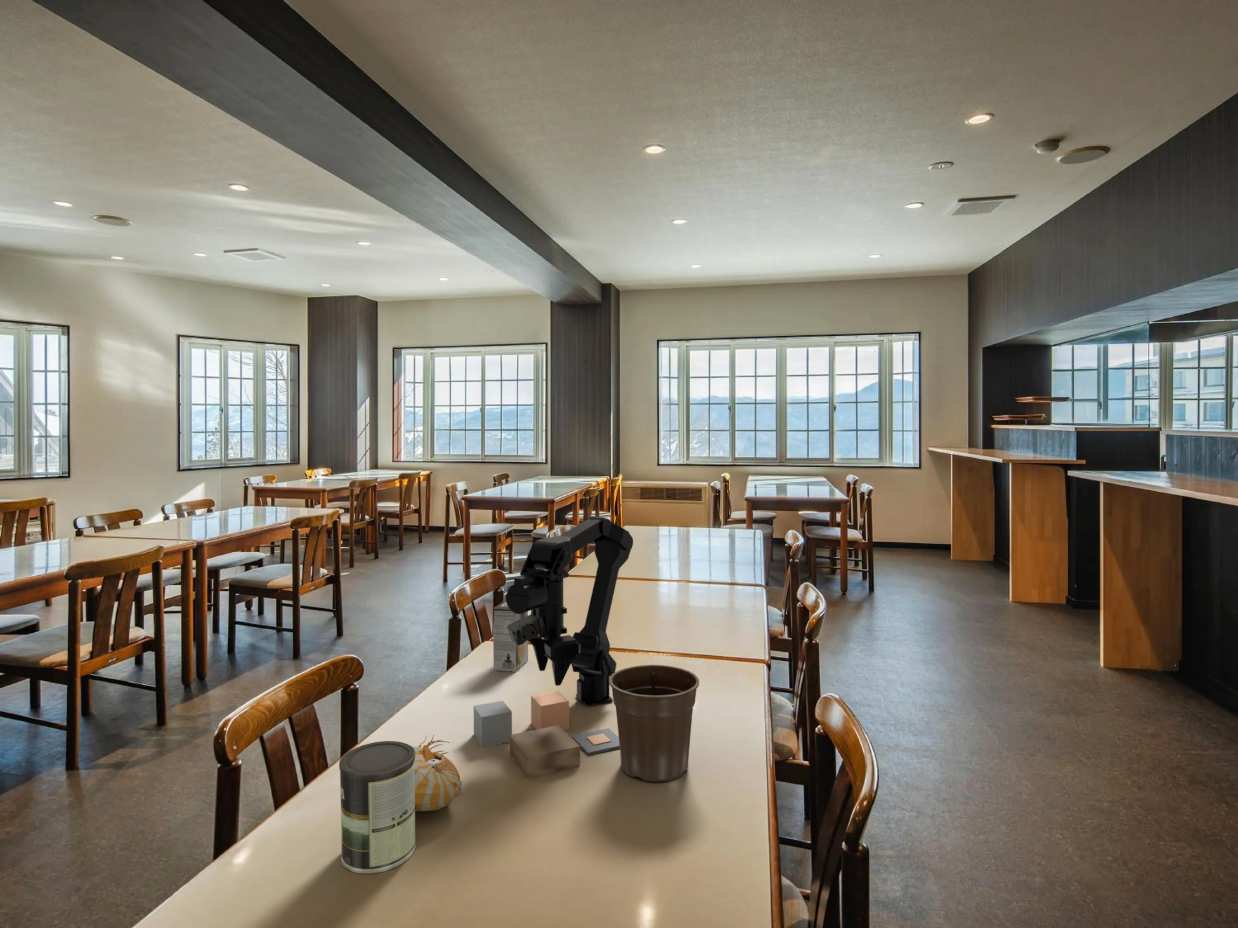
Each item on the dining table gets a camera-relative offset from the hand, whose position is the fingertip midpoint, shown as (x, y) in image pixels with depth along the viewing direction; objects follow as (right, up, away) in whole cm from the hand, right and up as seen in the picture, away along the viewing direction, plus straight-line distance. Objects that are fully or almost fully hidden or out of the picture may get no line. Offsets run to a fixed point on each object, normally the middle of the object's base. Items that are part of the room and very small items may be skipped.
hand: (549, 677), depth 142 cm
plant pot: (+20, -11, -16) cm, 28 cm away
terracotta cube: (0, -10, 0) cm, 10 cm away
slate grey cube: (-11, -11, -5) cm, 16 cm away
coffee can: (-20, -12, -42) cm, 48 cm away
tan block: (0, -11, -14) cm, 18 cm away
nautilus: (-18, -12, -26) cm, 34 cm away
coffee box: (-14, -9, +37) cm, 40 cm away
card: (+10, -11, -7) cm, 16 cm away
